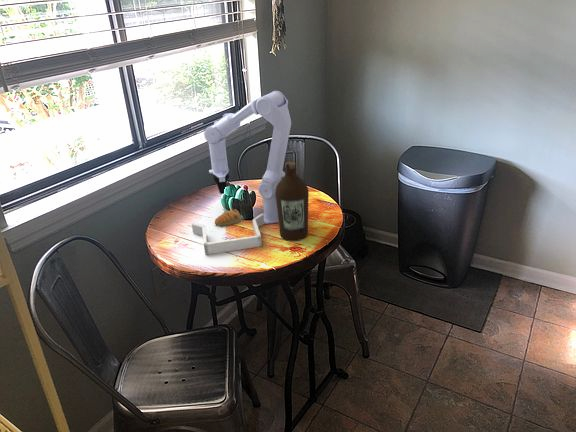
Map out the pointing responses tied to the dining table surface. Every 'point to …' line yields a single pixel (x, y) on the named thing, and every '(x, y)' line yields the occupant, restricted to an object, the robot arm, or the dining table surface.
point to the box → (232, 243)
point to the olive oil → (292, 205)
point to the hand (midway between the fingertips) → (223, 193)
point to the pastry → (228, 218)
